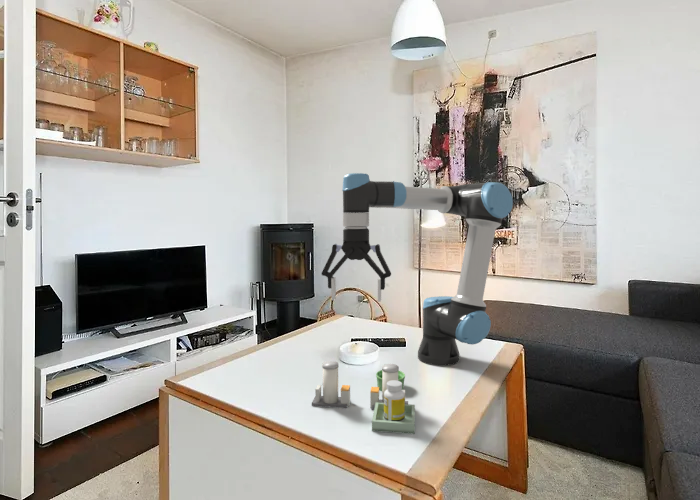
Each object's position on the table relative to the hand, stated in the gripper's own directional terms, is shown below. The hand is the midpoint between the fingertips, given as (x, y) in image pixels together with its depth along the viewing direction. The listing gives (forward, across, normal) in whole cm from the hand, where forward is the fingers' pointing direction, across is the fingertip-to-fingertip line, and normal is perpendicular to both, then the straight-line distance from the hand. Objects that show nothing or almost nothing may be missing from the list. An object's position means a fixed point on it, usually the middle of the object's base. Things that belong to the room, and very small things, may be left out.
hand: (356, 300), depth 125 cm
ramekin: (+29, -10, -6) cm, 31 cm away
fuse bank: (+29, -2, +7) cm, 30 cm away
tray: (+29, -12, +15) cm, 35 cm away
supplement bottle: (+28, -12, +15) cm, 34 cm away
